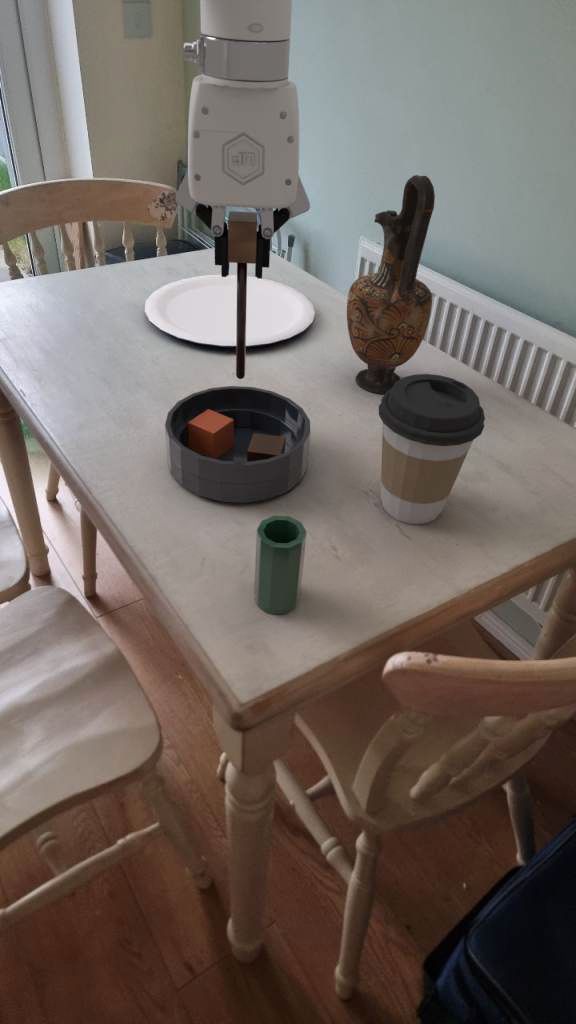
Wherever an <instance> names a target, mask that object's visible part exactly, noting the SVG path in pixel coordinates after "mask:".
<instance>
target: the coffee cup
mask: <svg viewBox="0 0 576 1024" xmlns="http://www.w3.org/2000/svg"><path fill="white" fill-rule="evenodd" d="M378 416H379V418H380V420H381V421H382V432H381V433H382V435H381V436H382V437H381V466H380V469H381V470H380V500H381V506H382V509H383V510H384V512H385V513H386V514H387V515H388V516H389V517H390V518H393V519H394V520H396V521H398V522H401V523H404V524H407V525H417V526H418V525H426V524H429V523H432V522H434V521H435V520H436V519H438V517H439V515H440V514H441V513H442V512H443V510H444V508H445V505H446V503H447V501H448V499H449V496H450V494H451V492H452V489H453V488H454V485H455V482H456V480H457V478H458V476H459V473H460V471H461V469H462V467H463V465H464V463H465V460H466V458H467V455H468V453H469V452H470V451H469V450H471V446H472V444H473V441H474V440H475V439H477V438H478V437H479V436H481V435H482V433H483V430H484V428H485V423H484V422H485V421H486V417H485V411H484V409H483V407H482V406H481V402H480V399H479V395H477V393H476V392H475V391H474V389H472V388H471V387H469V386H468V385H467V384H465V383H464V382H461V381H459V380H457V379H455V378H453V377H452V378H451V377H448V376H445V375H444V376H443V375H439V374H431V373H418V374H417V373H416V374H412V375H408V376H404V377H402V378H401V379H400V380H399V381H397V382H396V383H395V384H394V386H393V387H392V389H390V390H388V391H387V392H386V393H385V394H383V396H382V397H381V399H380V404H379V405H378Z"/></svg>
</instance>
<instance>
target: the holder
mask: <svg viewBox="0 0 576 1024" xmlns="http://www.w3.org/2000/svg"><path fill="white" fill-rule="evenodd" d="M306 541H307V530H306V529H305V526H304V524H303V522H301V521H300V520H298V519H295V518H294V517H291V516H290V515H272V516H270V517H268V518H265V519H263V520H262V521H261V522H260V524H259V525H258V527H257V529H256V540H255V560H254V561H255V564H254V589H253V594H254V601H255V603H256V605H257V607H258V608H259V609H260V610H261V611H263V612H265V613H267V614H270V615H275V616H276V615H278V616H279V615H285V614H288V613H291V612H292V611H293V610H295V608H297V607H298V604H299V600H300V596H301V591H302V582H303V581H302V580H303V572H304V560H305V553H306V552H305V551H306Z"/></svg>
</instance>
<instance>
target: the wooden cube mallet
mask: <svg viewBox="0 0 576 1024" xmlns="http://www.w3.org/2000/svg"><path fill="white" fill-rule="evenodd" d="M227 227H228V262H229V263H230V264H231V263H233V264H234V263H235V264H236V275H237V331H236V347H235V376H236V378H237V379H238V380H242V379H244V378H245V376H246V350H247V349H246V348H247V347H246V298H247V276H248V264H252V265H253V264H254V265H255V263H256V245H257V231H258V212H253V211H234V210H229V211H228V217H227Z"/></svg>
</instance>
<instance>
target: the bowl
mask: <svg viewBox="0 0 576 1024" xmlns="http://www.w3.org/2000/svg"><path fill="white" fill-rule="evenodd" d="M208 409H210V410H212V411H214V412H217V413H219V414H222V415H224V416H226V417H229V418H231V419H233V420H234V437H233V447H231V448H230V449H229V450H227V451H226V452H225V453H223V454H222V455H221V456H219V457H218V458H217V459H213V458H209V457H206V456H204V455H201V454H199V453H197V452H195V451H193V450H190V449H189V428H188V422H190V421H191V420H193V419H194V418H196V417H197V416H199V415H200V414H202V413H203V412H205V411H206V410H208ZM164 432H165V433H164V434H165V446H166V447H165V448H166V462H167V465H168V468H169V472H170V475H171V476H172V477H173V478H174V479H175V481H176V482H178V484H180V485H181V487H183V488H185V489H186V490H189V491H190V492H192V493H194V494H196V495H198V496H200V497H203V498H207V499H210V500H214V501H219V502H222V503H242V504H245V503H253V502H259V501H267V500H270V499H273V498H275V497H277V496H280V495H282V494H286V493H287V492H289V491H290V490H291V489H292V488H294V487H295V486H296V485H297V484H298V483H301V481H302V479H303V477H304V475H305V473H306V472H307V469H308V462H309V453H310V442H311V421H310V419H309V416H308V415H307V413H306V412H305V410H304V408H303V407H301V406H300V405H299V404H297V403H296V402H295V401H293V399H291V398H289V397H286V396H284V395H282V394H280V393H278V392H275V391H272V390H269V389H263V388H259V387H256V386H242V385H241V386H239V385H228V386H219V387H210V388H207V389H205V390H200V391H197V392H193V393H191V394H189V395H187V396H186V397H184V398H182V399H180V400H179V401H177V402H176V403H175V404H174V406H172V408H171V409H170V410H169V411H168V412H167V416H166V419H165V424H164ZM253 433H258V434H266V435H274V436H281V437H286V441H285V453H283V454H280V455H278V456H275V457H272V458H270V459H265V460H258V461H250V462H247V451H248V448H249V445H250V442H251V439H252V436H253Z"/></svg>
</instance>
